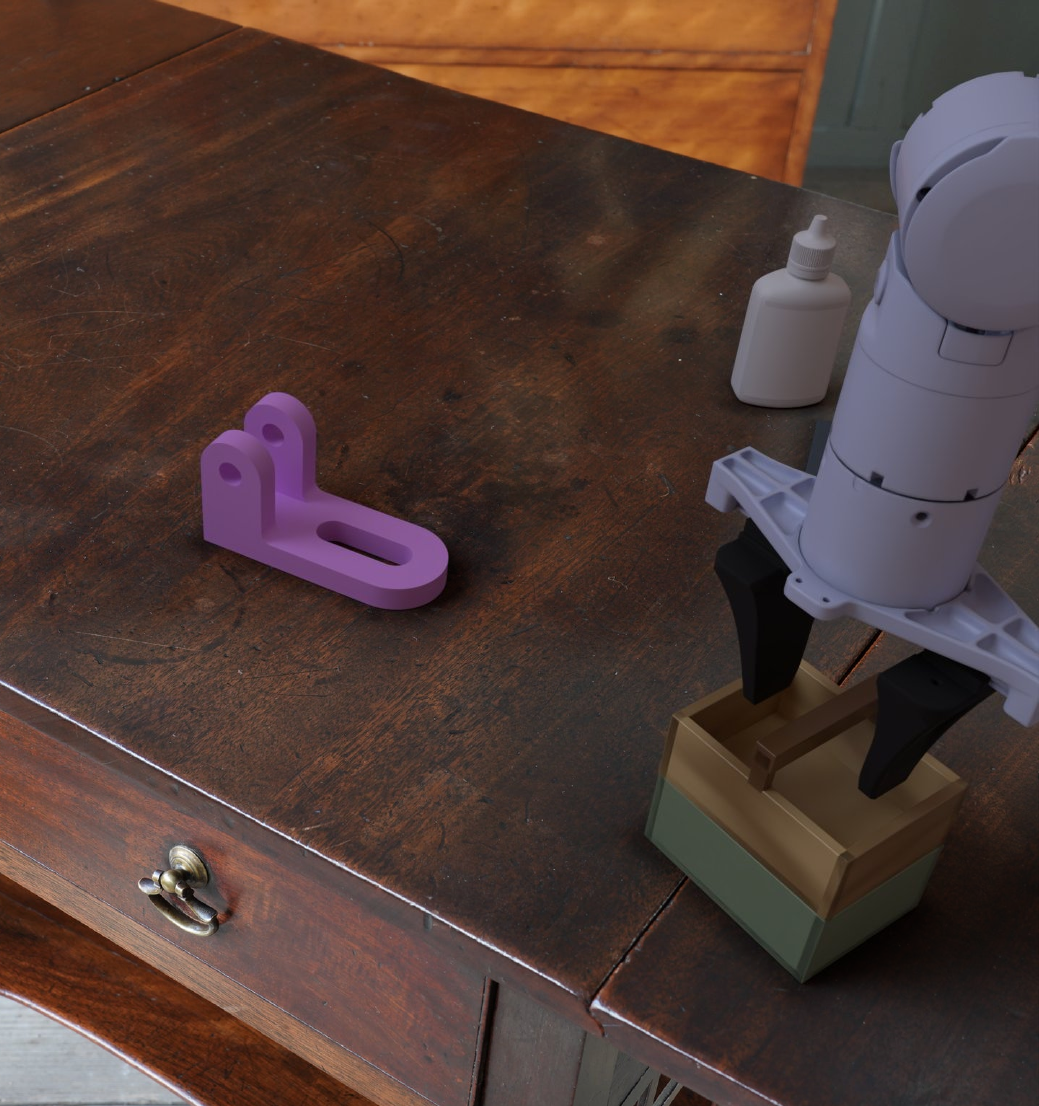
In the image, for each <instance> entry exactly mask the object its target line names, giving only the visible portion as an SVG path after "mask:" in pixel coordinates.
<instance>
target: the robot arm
mask: <svg viewBox="0 0 1039 1106" xmlns="http://www.w3.org/2000/svg"><path fill="white" fill-rule="evenodd" d="M931 103H932V108H930V109H929V110H928V111H927V112H926V113H925V114H924V113H923V112H920V114H918V116H917V117H916V119H915V120H914V121H913V123H912V124H911V126H910V128H908V130H907V132H906V134H905V136H904V138H903V139H899V140H897V141H895V142H894V143H893V144H892V147H891V150H890V151H891V152H890V157H889V180H890V187H891V192H892V195H893V198H894V201H895V205H896V206H897V212H898V226H899V228H898V229H896V230H894V231H893V232H892V234H891V236H890V240H889V244H888V246H887V250H886V253H885V256H884V257H885V258H884V259H883V262H882V263H881V265H880V267H879V269H878V270H877V273H876V276H875V281H874V286H873V297H872V299H871V300H870V301H869V303H868V304H867V305H866V308H865V309H864V312H863V313H862V316H861V319H860V323H859V326H858V330H857V331H858V332H857V334H856V338H855V342H854V344H853V348H852V352H851V355H850V358H849V361H848V366H847V369H846V373H845V376H844V380H843V383H842V386H841V390H840V394H839V397H838V401H837V404H836V408H835V412H834V415H833V418H832V421H831V422H832V425H831V428H830V433H829V436H828V440H827V443H826V447H825V450H824V454H823V457H822V461H821V464H820V468H819V471H818V475H817V477H816V476H813V475H811V474H808V473H805V471H803V470H799V469H796V468H794V467H792V466H790V465H787V464H785V463H782V462H780V461H778V460H775V459H774V458H772V457H769V456H768V455H766V454H764V453H762V452H761V451H759V450H757V449H755V448H754V447H752V446H750V445H748V446H747V447H744V448H742V449H739V450H737V451H735V452H733V453H730V454H727V455H726V456H724V457H721V458H718V459H717V460H714V461H713V463H712V467H711V472H710V476H709V479H708V485H707V489H706V493H705V497H704V498H705V499H704V502H706V503H707V504H709V505H710V506H711V507H713V508H714V509H715V510H717V511H718V512H720V513H723V514H729V513H732V512H733V511H735V510H737V511H738V512H740V514H742V515H744V516H746V517H747V518H746V519H745V522H744V526H743V530H741V531H739V533H738V536H737V538H736V539H733V540H731V541H729V542H727V543H725V544H723V545H721V546H720V547H719V548H718V549H717V550H716V554H715V557H714V558H715V559H714V562H713V570H714V572H715V574H716V576H717V577H718V579H719V581H720V583H721V585H722V587H723V590H724V592H725V594H726V598H727V600H728V602H729V605H730V608H731V612H732V616H733V620H734V623H735V628H736V634H737V639H738V646H739V654H740V667H741V668H740V669H741V677H742V683H743V696H744V698H746V699H747V700H748V701H749V702H751V703H752V704H753V705H754V706H755V705H757V704H759V703H760V702H762V701H764V700H766V699H768V698H770V697H771V696H773V695H775V694H777V693H779V692H781V691H782V690H784V689H786V688H788V687H790V685H791V683H792V681H793V679H794V677H795V675H796V673H797V671H798V669H799V666H800V664H801V661H802V659H803V658H804V654H805V651H806V648H807V645H808V641H809V638H810V635H811V632H812V628H813V625H814V623H815V622H814V621H815V619H816V620H819V621H820V622H821V621H822V622H831V621H834V620H837V619H839V618H841V617H844V616H845V617H849V618H851V619H853V620H856V621H858V622H861V623H863V624H866V625H868V626H870V627H873V628H875V629H878V630H880V631H882V632H885V633H887V634H889V635H892V636H893V637H894V636H895V637H897V638H899V639H901V640H904V641H907V642H909V643H911V644H914V645H916V646H919V647H921V648H923V650H921V651H920V652H918V653H914V654H912V655H910V656H909V657H906V658H905V659H902V660H901V661H898V663H895V664H893V665H892V666H890V667H888V668H887V669H885V670H883V671H882V672H881V671H880V672H881V673H880V674H879V675H878V678H877V680H876V686H877V693H878V713H877V722H876V727H875V733H874V737H873V740H872V743H871V746H870V748H869V751H868V753H867V756H866V758H865V761H864V764H863V766H862V769H861V772H860V775H859V781H858V789H859V790H860V791H861V792H862V793H864V794H865V795H866V796H867V797H869V798H870V799H874V800H875V799H877V798H878V797H880V796H882V795H883V794H885V793H887V792H888V791H890V790H891V789H893V788H895V787H896V786H898V785H900V784H901V783H903V782H904V781H906V780H907V778H908V777H909V775H910V774H911V772H912V771H913V769H914V768H915V767H916V765H917V764H918V762H919V761H920V760H921V759H922V757H923V756H924V755H925V754H926V752H927V753H928V752H929V750H930V749H931V748H932V747H933V746H934V745H935V744H936V743H937V742H938V740H940V738H941V737H943V735H944V734H945V733H946V732H947V731H949V730H950V729H951V728H952V727H953V726H954V725H956V724H957V722H958V721H959V720H961V719H962V718H963V717H964V716H965V715H967V714H968V713H969V712H970V711H972V710H973V709H974V708H976V707H977V706H978V705H980V704H982V703H983V701H985V700H986V699H988V698H989V697H991V696H992V695H994V694H995V693H997V692H998V693H999V694H1000V695H1002V696H1003V697H1005V698H1006V699H1005V701H1004V704H1003V706H1002V709H1003V712H1004V713H1006V714H1007V716H1009V717H1011V718H1012V719H1013V720H1015V721H1016V722H1017V723H1019V724H1020V725H1022V726H1023V727H1024V728H1027V729H1029V728H1032V727H1033V726H1035V725H1036V724H1038V723H1039V627H1038V625H1037V624H1036V623H1035V622H1034V621H1033V620H1032V619H1031V618H1030V617H1029V615H1028V614H1027V613H1026V612H1025V611H1024V610H1023V609H1022V608H1021V606H1019V605H1018V604H1017V602H1016V601H1015V600H1014V599H1013V598H1012V597H1011V596H1010V595H1009V594H1008V592H1006V590H1004V588H1003V587H1002V586H1001V584H999V583H998V582H997V581H996V580H995V579H994V578H993V576H991V574H990V573H989V572H988V571H987V570H986V569H985V568H984V567H983V565H982V564H980V562H979V561H978V560H977V559H978V557H979V554H980V552H981V549H982V546H983V544H984V541H985V540H986V536H987V534H988V531H989V528H990V526H991V524H992V521H993V519H994V516H995V513H996V511H997V508H998V505H999V503H1000V500H1001V498H1002V496H1003V493H1004V490H1005V488H1006V486H1007V482H1008V479H1009V477H1010V474H1011V472H1012V469H1013V466H1014V464H1015V461H1016V459H1017V456H1018V453H1019V451H1020V449H1021V446H1022V443H1023V440H1024V438H1025V435H1026V433H1027V430H1028V427H1029V426H1030V423H1031V419H1032V418H1033V415H1034V413H1035V410H1036V407H1037V404H1038V402H1039V73H1037V74H1036V76H1035V77H1033V76H1032V77H1031V76H1025V73H1024V71H1020V70H1019V71H1018V70H1017V71H1016V70H1015V71H1013V70H1012V71H1002V72H994V73H990V74H986V75H982V76H978V77H975V78H973V79H970V80H968V81H967V80H966V81H965V82H963V83H960V84H958V85H956V86H954V87H953V88H951V89H949V90H947V91H946V92H944V93H942V95H940V96H939V97H937V98H936V99H935V100H933V101H932V102H931Z"/></svg>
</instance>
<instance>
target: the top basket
mask: <svg viewBox="0 0 1039 1106" xmlns="http://www.w3.org/2000/svg"><path fill="white" fill-rule="evenodd" d="M880 673H881V671H878V672H876V673H874V674H872V675H871V676H869V677H867V678H865V679H864V680H861V681H860V682H859V683H857V684H854V685H853V686H852V687H850V688H848V689H846V690H845V689H844V688H842V687H841V686H839V685H838V684H837V683H836V682H834V681H833V680H831V678H829V677H828V676H826V675H825V674H824V673H822V672H821V671H820V670H819V669H817V668H816V667H814V666H813V665H811V663H809V662H808V661H806V660H805V659H804V658H802V661H801V664H800V666H799V669H798V671H797V673H796V675H795V677H794V679H793V681H792V683H791V685H790V687H788V688H786V689H784V690H782V691H781V692H779V693H777V694H775V695H773V696H771V697H770V698H768V699H766V700H764V701H762V702H760V703H759V704H757V705H755V706H754V705H753V704H752V703H751V702H749V701H748V700H747V699H746V698H744V696H743V683H742V676H741V677H739V678H737V679H735V680H734V681H732V682H730V683H728V684H726V685H724V686H722V687H720V688H719V689H717V690H715V691H713V692H711V693H709V694H708V695H705V696H704V697H702V698H700V699H698V700H696V701H694V702H693V703H691V704H689V705H687V706H685V707H683V708H682V709H679V710H678V711H676V712H674V713H672V714H671V716H670V722H669V726H668V730H667V734H666V738H665V742H664V746H663V751H662V754H661V755H662V756H661V759H660V762H659V767H658V774H660V775H661V776H662V777H663V778H665V779H666V780H667V781H668V782H669V783H670V784H671V785H673V786H674V787H675V788H676V789H677V790H678V791H679V792H680V793H682V794H683V795H684V796H685V797H686V798H687V799H688V800H689V801H691V802H692V803H693V804H694V805H695V806H696V807H697V808H698V809H700V810H701V811H702V812H703V813H704V814H705V815H706V816H707V817H709V818H710V819H711V820H712V821H713V822H714V823H715V824H716V825H717V826H719V827H720V828H721V829H722V830H723V831H724V832H725V833H726V834H728V835H729V836H730V837H731V838H732V839H733V840H734V841H735V842H737V843H738V844H739V845H740V846H741V847H742V848H743V849H744V850H746V851H747V852H748V853H749V854H750V855H751V856H752V857H753V858H755V859H756V860H757V861H758V862H759V863H760V864H761V865H762V866H763V867H765V868H766V869H767V870H768V871H769V872H770V873H771V874H772V875H774V876H775V877H776V878H777V879H778V880H779V881H780V882H781V883H783V884H784V885H785V886H786V887H787V888H788V889H789V890H790V891H792V892H793V893H794V894H795V895H796V896H797V897H798V898H799V899H801V900H802V901H803V902H804V903H805V904H806V905H807V906H808V907H809V908H811V909H812V910H813V911H814V912H815V913H816V914H817V915H818V916H820V917H821V918H822V919H823V920H824V921H827V920H829V919H830V918H832V917H833V916H835V915H836V914H838V913H839V912H841V911H842V910H844V909H845V908H847V907H848V906H850V905H851V904H853V903H854V902H856V901H857V900H859V899H860V898H862V897H863V896H865V895H866V894H868V893H869V892H871V891H872V890H874V889H876V888H877V887H879V886H880V885H882V884H883V883H885V882H886V881H888V880H889V879H891V878H892V877H894V876H895V875H897V874H898V873H900V872H901V871H903V870H904V869H906V868H907V867H909V866H910V865H912V864H913V863H915V862H916V861H918V860H919V859H921V858H922V857H924V856H925V855H927V854H928V853H930V852H931V851H933V850H934V849H936V848H938V847H939V846H941V845H942V844H944V845H945V842H946V840H947V838H948V837H949V836H948V835H949V833H950V831H951V829H952V827H953V824H954V822H955V820H956V818H957V815H958V813H959V812H960V809H961V806H962V804H963V801H964V800H965V798H966V795H967V793H968V791H969V788H970V786H971V784H970V783H969V782H968V781H966V780H965V779H963V778H962V777H961V776H959V775H958V774H957V773H955V772H954V771H953V770H952V769H950V768H949V767H948V766H946V765H945V764H944V763H942V762H941V761H940V760H938V759H937V758H936V757H934V756H933V755H932V754H930V753H929V752H928V751H927V752H926V754H925V755H924V756H923V757H922V759H921V760H920V761H919V762H918V764H917V765H916V767H915V768H914V769H913V771H912V772H911V774H910V775H909V777H908V778H907V780H906V781H904V782H903V783H901V784H900V785H898V786H896V787H895V788H893V789H891V790H890V791H888V792H887V793H885V794H883V795H882V796H880V797H878V798H877V799H875V800H874V799H870V798H869V797H867V796H866V795H865V794H864V793H862V792H861V791H860V790H859V789H858V781H859V775H860V772H861V769H862V766H863V764H864V761H865V758H866V756H867V753H868V751H869V748H870V746H871V743H872V740H873V737H874V733H875V727H876V722H877V713H878V693H877V686H876V680H877V678H878V675H879V674H880Z"/></svg>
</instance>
